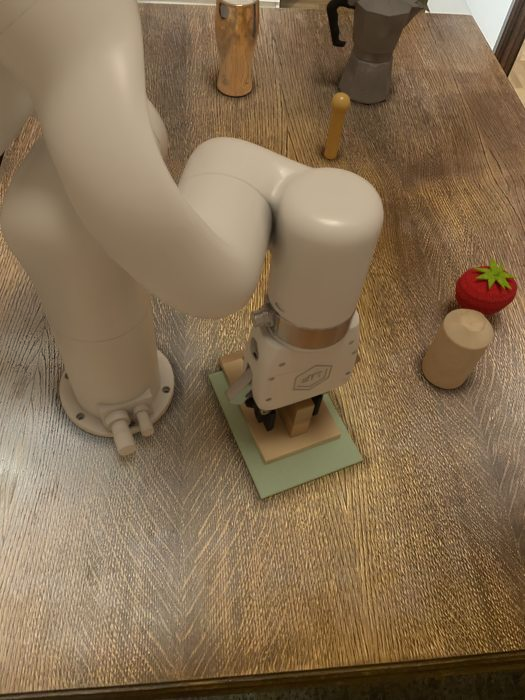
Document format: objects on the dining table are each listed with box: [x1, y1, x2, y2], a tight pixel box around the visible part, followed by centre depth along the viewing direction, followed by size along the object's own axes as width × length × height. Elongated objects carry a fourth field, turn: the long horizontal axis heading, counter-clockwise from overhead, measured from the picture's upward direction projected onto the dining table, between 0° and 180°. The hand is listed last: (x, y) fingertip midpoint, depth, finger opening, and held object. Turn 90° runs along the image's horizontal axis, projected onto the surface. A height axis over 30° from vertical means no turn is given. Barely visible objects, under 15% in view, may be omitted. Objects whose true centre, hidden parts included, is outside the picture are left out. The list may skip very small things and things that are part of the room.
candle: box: [421, 308, 494, 390], centre depth 69 cm, size 6×6×10 cm
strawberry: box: [454, 256, 518, 318], centre depth 74 cm, size 6×8×10 cm
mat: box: [207, 369, 364, 501], centre depth 68 cm, size 16×12×1 cm
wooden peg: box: [323, 91, 351, 160], centre depth 91 cm, size 3×3×11 cm
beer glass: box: [214, 0, 261, 97], centre depth 98 cm, size 7×7×15 cm
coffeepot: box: [325, 0, 425, 105], centre depth 99 cm, size 15×9×18 cm, turn 92°
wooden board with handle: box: [218, 348, 341, 465], centre depth 66 cm, size 14×9×7 cm, turn 23°
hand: (286, 411), depth 66 cm, fingers open, 4 cm apart
